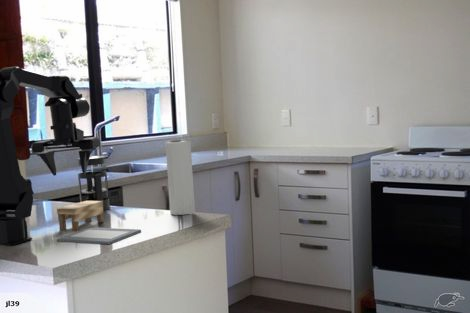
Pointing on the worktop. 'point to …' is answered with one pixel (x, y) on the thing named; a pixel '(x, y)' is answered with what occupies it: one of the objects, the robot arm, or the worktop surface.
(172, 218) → the worktop surface
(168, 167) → the paper towel roll
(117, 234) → the charcoal mat
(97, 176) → the french press
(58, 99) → the robot arm
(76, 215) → the oak stool
